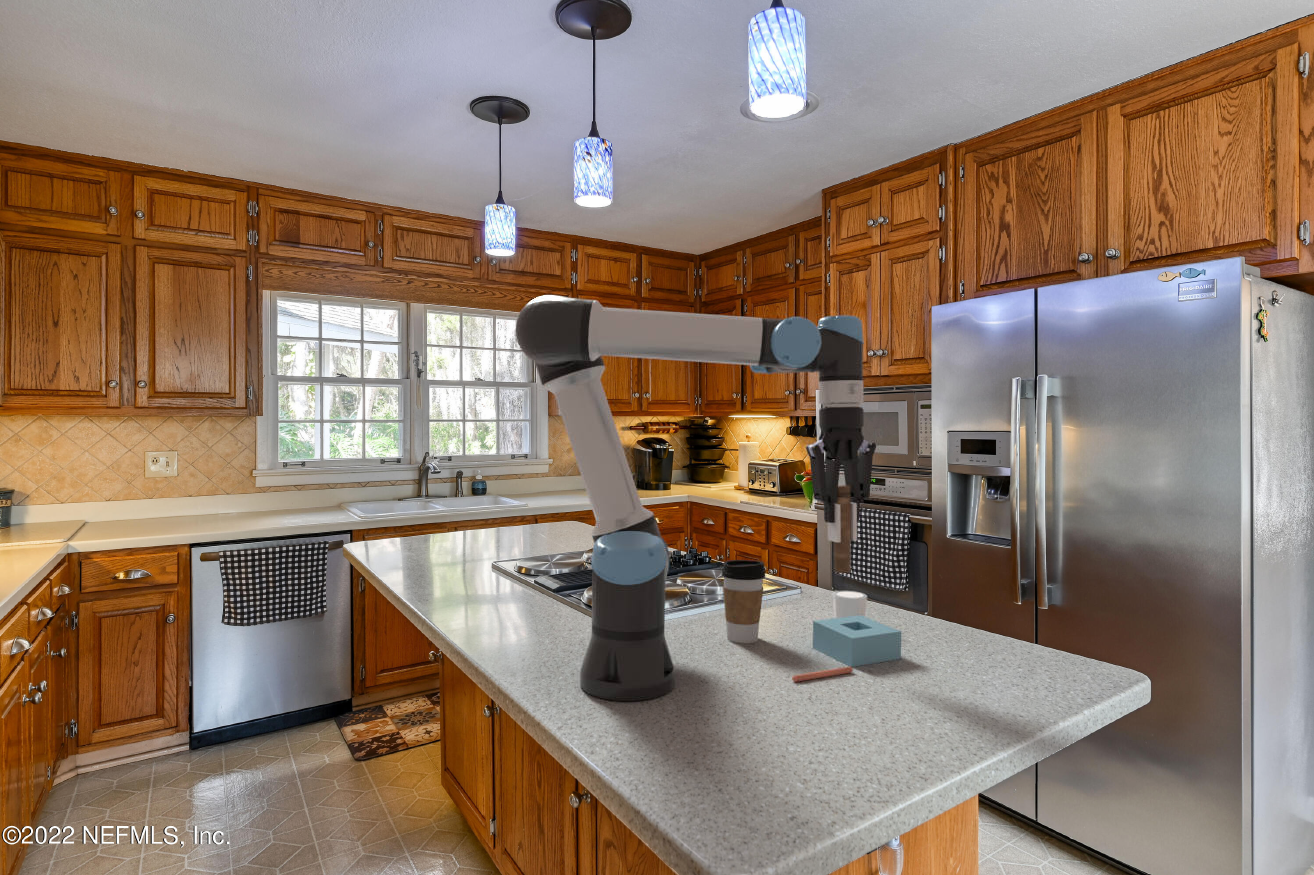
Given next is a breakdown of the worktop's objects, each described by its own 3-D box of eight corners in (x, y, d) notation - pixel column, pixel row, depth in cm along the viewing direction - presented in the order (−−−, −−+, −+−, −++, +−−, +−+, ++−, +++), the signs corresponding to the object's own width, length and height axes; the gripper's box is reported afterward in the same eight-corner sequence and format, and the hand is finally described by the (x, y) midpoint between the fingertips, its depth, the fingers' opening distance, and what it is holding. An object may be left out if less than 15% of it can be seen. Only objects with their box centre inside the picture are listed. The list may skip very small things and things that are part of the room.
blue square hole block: (851, 667, 123) (851, 638, 123) (812, 647, 133) (813, 621, 133) (900, 659, 128) (901, 631, 127) (859, 640, 138) (860, 615, 137)
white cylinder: (870, 633, 142) (871, 598, 142) (835, 633, 143) (836, 598, 142) (861, 623, 149) (862, 590, 149) (828, 622, 149) (829, 589, 149)
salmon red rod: (794, 683, 115) (794, 677, 115) (790, 681, 116) (790, 675, 116) (853, 673, 120) (854, 667, 120) (850, 671, 121) (850, 665, 121)
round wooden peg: (840, 574, 123) (839, 487, 123) (830, 570, 126) (829, 485, 126) (854, 572, 124) (853, 486, 124) (844, 569, 127) (843, 485, 127)
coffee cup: (750, 648, 132) (752, 568, 132) (711, 639, 137) (713, 562, 137) (772, 637, 139) (773, 561, 138) (734, 629, 144) (735, 555, 143)
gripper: (815, 406, 118) (816, 547, 119) (892, 405, 124) (893, 540, 125) (790, 406, 125) (791, 540, 126) (864, 406, 131) (865, 533, 132)
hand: (842, 540), depth 125 cm, fingers closed on round wooden peg, 3 cm apart
